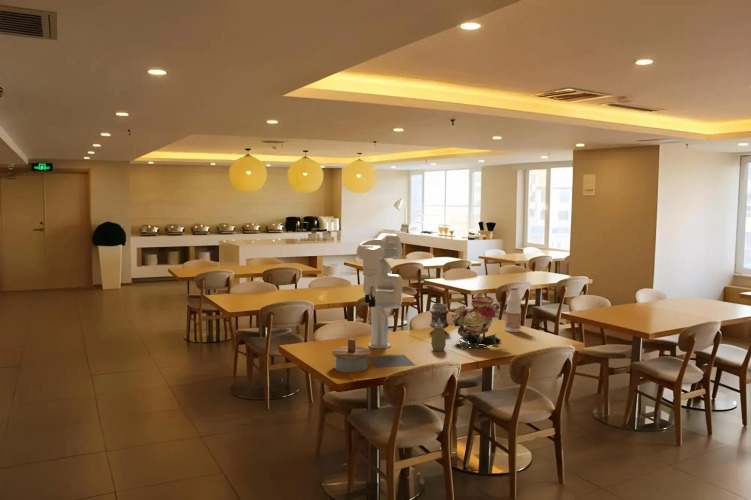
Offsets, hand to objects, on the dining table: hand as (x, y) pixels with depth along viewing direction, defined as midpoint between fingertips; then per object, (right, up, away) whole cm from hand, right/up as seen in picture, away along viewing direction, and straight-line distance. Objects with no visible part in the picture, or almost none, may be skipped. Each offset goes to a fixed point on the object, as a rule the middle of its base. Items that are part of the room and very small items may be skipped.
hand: (370, 304), depth 293 cm
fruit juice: (+91, -24, +75) cm, 120 cm away
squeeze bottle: (+38, -28, +24) cm, 53 cm away
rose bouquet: (+61, -27, +38) cm, 77 cm away
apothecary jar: (+43, -24, +67) cm, 83 cm away
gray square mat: (+11, -30, 0) cm, 31 cm away
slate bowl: (-9, -30, -11) cm, 33 cm away
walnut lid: (-9, -23, -11) cm, 27 cm away
